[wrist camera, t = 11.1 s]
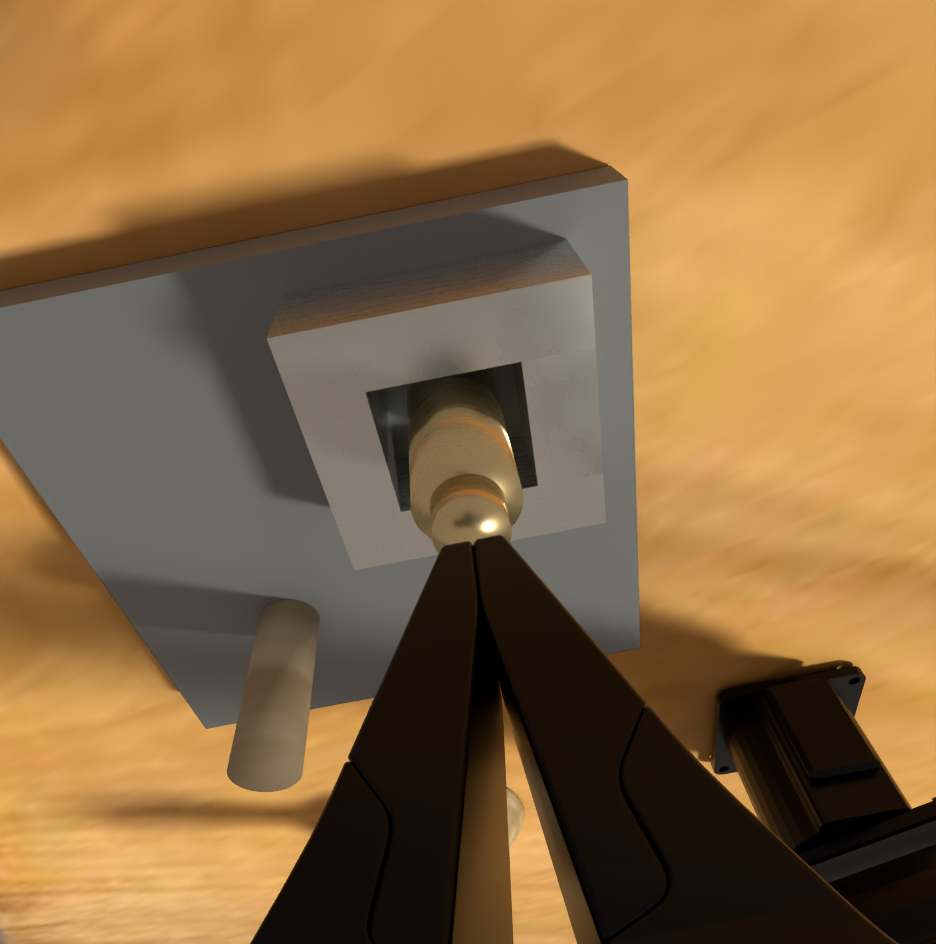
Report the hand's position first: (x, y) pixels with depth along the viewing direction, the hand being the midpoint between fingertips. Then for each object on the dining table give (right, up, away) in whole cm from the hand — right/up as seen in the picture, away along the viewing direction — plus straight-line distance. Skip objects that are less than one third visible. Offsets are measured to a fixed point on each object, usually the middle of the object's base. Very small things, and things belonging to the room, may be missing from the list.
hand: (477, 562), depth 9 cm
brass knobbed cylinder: (-1, +3, +9) cm, 10 cm away
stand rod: (-6, -4, +14) cm, 15 cm away
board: (-4, +1, +13) cm, 13 cm away
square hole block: (-1, +3, +9) cm, 10 cm away
